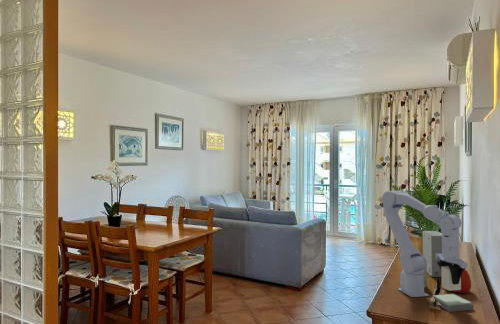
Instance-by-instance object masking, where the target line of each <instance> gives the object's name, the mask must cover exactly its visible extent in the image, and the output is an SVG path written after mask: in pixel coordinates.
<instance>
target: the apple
mask: <svg viewBox="0 0 500 324" xmlns="http://www.w3.org/2000/svg"><path fill="white" fill-rule="evenodd" d="M471 289H472V280H471V276H470V274H469V272H468V271H467V269H465V270H464V271H463V273H462V275H461V290H452V291H451V292H455V293H457V294H459V293H460V294H467V293H469V292H470V291H471Z"/></svg>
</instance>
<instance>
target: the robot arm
mask: <svg viewBox="0 0 500 324" xmlns="http://www.w3.org/2000/svg"><path fill="white" fill-rule="evenodd" d="M380 200H381V201H380V202H381V203H382V206H383V207H382V208H383V215H384V217H385V218H386V221H387V223H388V226H389V228H390V230H391V232H392V234H393V236H394V239H395V241H396V243H397V244H398V248H399V249H400V254H399V260H400V266H401V269H402V270H401V272H400V275H399V280H400V281H399V282H400V285H399V287H400V288H398V290H399V291H400V292H402V293H404V294H406V295H407V296H409V297H411V298H419V297H429V296H430V295H429V293H427V292H425V287H424V269H425V268H426V267H427V261H426V259H425V258H424V257H423V254H422V253H421V251H420V250H419V249H417V248H416V247H414V245H413V243H412V242H413V241H412V240H411V238H410V236H409V234H408V232H407V230H406V227H405V226H404V223H403V221H402V219H401V216H400V215H399V212H400V210H401V208H402V207H403V206H404V205H407V206H409V207H410V208H413V209H414V210H417V211H419V212H420V213H422V214H423V217H424V218H426V219H427V220H429V221H431V222H433V223H434V224H437V225H438V228H440V231H441V232H440V233H442V254H440V253H438V254H436V259H440V261H437V264H438V265H439V267H440V269H441V266H448V267H449V269H450V271H451V276H452V283H453V284H459V281H460V277H461V275H462V273H463V271H464V270H466V269H468V262H466V261H464V260H463V259H461V258H460V235H459V234H460V231H459V229H460V228H461V226H462V224H463V223H462V219H461V218H460V217H459V216H458V215H457V214H453V213H452V214H451V213H449V211H444V209H441V208H439V206H438V205H436V204H429V205H427V204H425V203H424V202H422V201H421V200H418V199H417V198H416V197H414V196H412V195H410V193H408V192H406V191H404V190H400V189H399V190H393V191H392V190H391V191H390V190H387V191H385V192H383V194H382V197H381V198H380Z"/></svg>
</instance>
